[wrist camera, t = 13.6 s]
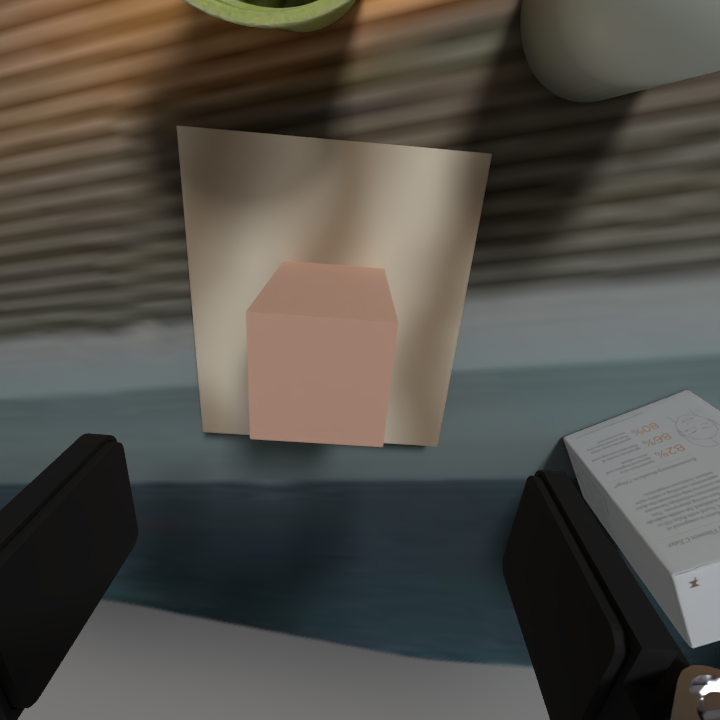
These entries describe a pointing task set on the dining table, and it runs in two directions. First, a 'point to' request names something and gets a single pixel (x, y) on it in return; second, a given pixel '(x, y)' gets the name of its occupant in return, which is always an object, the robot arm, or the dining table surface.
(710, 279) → the dining table surface
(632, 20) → the pale rounded smooth block
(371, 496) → the dining table surface
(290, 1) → the plant pot
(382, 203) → the board
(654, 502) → the small box
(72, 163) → the dining table surface
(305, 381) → the block
